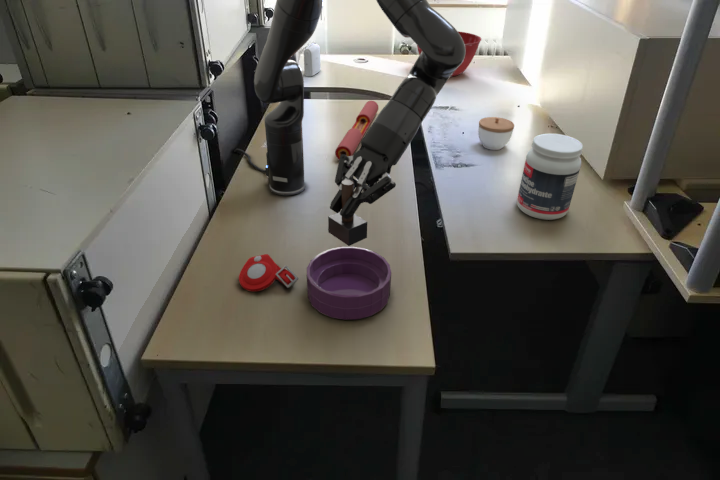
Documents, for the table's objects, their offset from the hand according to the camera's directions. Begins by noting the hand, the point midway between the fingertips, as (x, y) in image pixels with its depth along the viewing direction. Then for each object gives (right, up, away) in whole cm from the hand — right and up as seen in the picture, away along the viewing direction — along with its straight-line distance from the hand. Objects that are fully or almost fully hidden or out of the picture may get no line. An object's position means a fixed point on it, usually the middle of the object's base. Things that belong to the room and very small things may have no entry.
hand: (338, 213), depth 94 cm
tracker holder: (-15, -13, +14) cm, 24 cm away
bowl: (+2, -16, +11) cm, 19 cm away
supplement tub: (+50, +3, +41) cm, 65 cm away
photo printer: (-17, +68, +137) cm, 154 cm away
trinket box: (+46, +25, +74) cm, 91 cm away
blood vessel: (+3, +29, +80) cm, 85 cm away
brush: (+2, -4, +4) cm, 6 cm away
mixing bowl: (+42, +70, +143) cm, 164 cm away
